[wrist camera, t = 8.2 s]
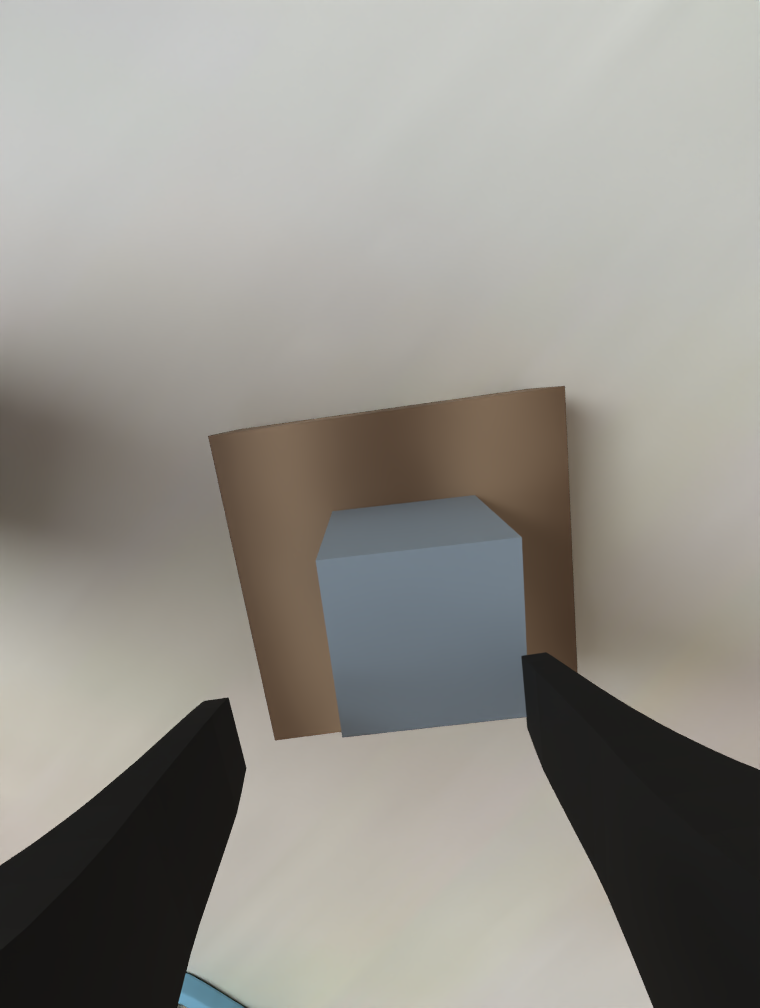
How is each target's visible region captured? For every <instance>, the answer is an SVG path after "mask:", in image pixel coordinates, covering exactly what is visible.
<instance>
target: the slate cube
mask: <svg viewBox="0 0 760 1008" xmlns="http://www.w3.org/2000/svg"><path fill="white" fill-rule="evenodd" d="M316 566H317V573H318V580H319V586H320V593H321V599H322V606H323V613H324V619H325V626H326V632H327V639H328V646H329V652H330V659H331V665H332V672H333V679H334V685H335V692H336V698H337V705H338V712H339V718H340V725H341V731H342V737H351V736H360V735H369V734H378V733H387V732H396V731H405V730H413V729H422V728H431V727H440V726H449V725H458V724H467V723H476V722H485V721H494V720H503V719H512V718H521V717H526V705H525V693H524V682H523V670H522V659H521V656H523V655H527V647H526V624H525V601H524V578H523V554H522V537H521V536H520V535H519V534H518V533H517V532H515V531H514V530H513V529H512V528H511V527H510V526H509V525H508V524H507V523H505V522H504V521H503V520H502V519H501V518H500V517H499V516H498V515H497V514H495V513H494V512H493V511H492V510H491V509H490V508H489V507H488V506H487V505H485V504H484V503H483V502H482V501H481V500H480V499H479V498H478V497H477V496H475V495H471V496H463V497H454V498H445V499H436V500H427V501H418V502H410V503H401V504H392V505H383V506H374V507H366V508H357V509H348V510H339V511H332V514H331V517H330V520H329V523H328V526H327V529H326V532H325V534H324V537H323V540H322V543H321V546H320V549H319V552H318V555H317V558H316Z"/></svg>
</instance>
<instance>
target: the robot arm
mask: <svg viewBox="0 0 760 1008" xmlns="http://www.w3.org/2000/svg"><path fill="white" fill-rule="evenodd" d="M521 659H522V670H523V682H524V693H525V705H526V717H527V728H528V731H529V734H530V736H531V739H532V742H533V744H534V747H535V750H536V752H537V755H538V758H539V760H540V763H541V765H542V768H543V770H544V772H545V774H546V776H547V778H548V780H549V782H550V784H551V786H552V788H553V790H554V792H555V794H556V796H557V798H558V800H559V802H560V804H561V806H562V808H563V809H564V811H565V813H566V815H567V817H568V819H569V821H570V823H571V825H572V827H573V829H574V831H575V833H576V834H577V836H578V838H579V840H580V842H581V844H582V846H583V848H584V850H585V852H586V854H587V856H588V858H589V859H590V861H591V863H592V865H593V867H594V869H595V871H596V873H597V875H598V877H599V879H600V882H601V884H602V886H603V888H604V890H605V892H606V894H607V896H608V899H609V901H610V903H611V906H612V908H613V910H614V913H615V915H616V918H617V920H618V922H619V925H620V927H621V930H622V932H623V934H624V937H625V939H626V941H627V944H628V946H629V949H630V951H631V953H632V956H633V958H634V961H635V963H636V966H637V968H638V971H639V973H640V975H641V978H642V980H643V983H644V985H645V988H646V990H647V993H648V995H649V998H650V1000H651V1003H652V1005H653V1008H760V770H758V769H756V768H754V767H751V766H749V765H746V764H744V763H741V762H739V761H736V760H734V759H732V758H730V757H727V756H725V755H723V754H720V753H718V752H716V751H714V750H712V749H710V748H707V747H705V746H703V745H701V744H699V743H697V742H695V741H693V740H691V739H689V738H687V737H685V736H683V735H681V734H679V733H677V732H675V731H673V730H671V729H669V728H667V727H665V726H663V725H661V724H660V723H658V722H656V721H654V720H652V719H651V718H649V717H647V716H645V715H644V714H642V713H640V712H638V711H637V710H635V709H633V708H631V707H630V706H628V705H626V704H625V703H623V702H621V701H620V700H618V699H617V698H615V697H613V696H612V695H610V694H609V693H607V692H605V691H604V690H602V689H601V688H599V687H598V686H596V685H595V684H593V683H592V682H590V681H589V680H587V679H586V678H584V677H583V676H581V675H580V674H578V673H577V672H575V671H574V670H572V669H571V668H569V667H568V666H566V665H565V664H563V663H562V662H561V661H559V660H558V659H556V658H555V657H553V656H552V655H550V654H548V653H547V652H544V653H537V654H530V655H523V656H521ZM245 772H246V765H245V761H244V757H243V753H242V749H241V745H240V741H239V737H238V733H237V729H236V725H235V721H234V717H233V714H232V710H231V706H230V702H229V698H222V699H215V700H208V701H204V702H202V703H201V704H200V705H198V706H197V707H196V708H195V709H194V710H192V711H191V712H190V713H189V714H188V715H187V716H186V717H185V718H183V719H182V720H181V721H180V722H179V723H178V724H177V725H176V726H175V727H174V728H172V729H171V730H170V731H169V732H168V733H167V734H166V735H165V736H164V737H163V738H161V739H160V740H159V741H158V742H157V743H156V744H155V745H154V746H153V747H151V748H150V749H149V750H148V751H147V752H146V753H145V754H144V755H143V756H142V757H140V758H139V759H138V760H137V761H136V762H135V763H134V764H133V765H131V766H130V767H129V768H128V769H127V770H125V771H124V772H123V773H122V774H121V775H120V776H118V777H117V778H116V779H115V780H114V781H112V782H111V783H110V784H109V785H108V786H107V787H105V788H104V789H103V790H102V791H101V792H99V793H98V794H97V795H96V796H95V797H94V798H92V799H91V800H90V801H89V802H87V803H86V804H85V805H84V806H82V807H81V808H80V809H79V810H77V811H76V812H75V813H73V814H72V815H71V816H69V817H68V818H67V819H66V820H64V821H63V822H61V823H60V824H59V825H57V826H56V827H55V828H53V829H52V830H51V831H49V832H48V833H47V834H45V835H44V836H43V837H41V838H40V839H38V840H37V841H36V842H34V843H33V844H31V845H30V846H29V847H27V848H26V849H24V850H23V851H21V852H20V853H18V854H17V855H15V856H14V857H12V858H11V859H9V860H8V861H6V862H5V863H3V864H2V865H0V1008H177V1006H178V1002H179V998H180V994H181V990H182V986H183V982H184V978H185V974H186V970H187V966H188V962H189V958H190V954H191V951H192V948H193V944H194V941H195V938H196V934H197V931H198V928H199V924H200V921H201V919H202V916H203V913H204V910H205V907H206V904H207V901H208V898H209V895H210V892H211V889H212V886H213V883H214V880H215V877H216V874H217V871H218V868H219V865H220V863H221V860H222V857H223V854H224V851H225V848H226V845H227V842H228V839H229V836H230V833H231V830H232V827H233V824H234V820H235V817H236V814H237V810H238V806H239V801H240V797H241V792H242V787H243V782H244V777H245Z"/></svg>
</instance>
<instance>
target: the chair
mask: <svg viewBox="0 0 760 1008" xmlns="http://www.w3.org/2000/svg"><path fill="white" fill-rule="evenodd" d="M178 1004H182V1005H184V1006H186V1007H187V1008H245V1007H243V1006H242V1005H240V1004H238V1003H237V1002H235V1001H234V1000H232V999H230V998H229V997H227V996H226V995H224V994H222V993H221V992H219V991H218V990H216V989H214V988H213V987H211V986H209V985H208V984H206V983H204V982H203V981H201V980H199V979H197V978H196V977H194V976H192V975H190V974H187V973H186V974H185V978H184V982H183V986H182V990H181V994H180V998H179V1002H178Z"/></svg>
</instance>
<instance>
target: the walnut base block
mask: <svg viewBox="0 0 760 1008" xmlns="http://www.w3.org/2000/svg"><path fill="white" fill-rule="evenodd" d="M208 438H209V442H210V447H211V451H212V456H213V460H214V465H215V469H216V474H217V478H218V483H219V488H220V492H221V497H222V501H223V506H224V510H225V515H226V519H227V524H228V528H229V533H230V538H231V542H232V547H233V551H234V556H235V560H236V565H237V569H238V574H239V579H240V583H241V588H242V592H243V597H244V601H245V606H246V610H247V615H248V619H249V624H250V629H251V633H252V638H253V642H254V647H255V651H256V656H257V660H258V665H259V669H260V674H261V679H262V683H263V688H264V692H265V697H266V701H267V706H268V710H269V715H270V720H271V724H272V729H273V733H274V738H275V740H282V739H289V738H297V737H305V736H312V735H320V734H327V733H335V732H342V731H341V725H340V718H339V712H338V705H337V698H336V692H335V685H334V679H333V672H332V665H331V659H330V652H329V646H328V639H327V632H326V626H325V619H324V613H323V606H322V599H321V593H320V586H319V580H318V573H317V566H316V558H317V555H318V552H319V549H320V546H321V543H322V540H323V537H324V534H325V532H326V529H327V526H328V523H329V520H330V517H331V514H332V511H339V510H348V509H357V508H366V507H374V506H383V505H392V504H401V503H410V502H418V501H427V500H436V499H445V498H454V497H463V496H471V495H475V496H477V497H478V498H479V499H480V500H481V501H482V502H483V503H484V504H485V505H487V506H488V507H489V508H490V509H491V510H492V511H493V512H494V513H495V514H497V515H498V516H499V517H500V518H501V519H502V520H503V521H504V522H505V523H507V524H508V525H509V526H510V527H511V528H512V529H513V530H514V531H515V532H517V533H518V534H519V535H520V536H521V537H522V554H523V578H524V601H525V624H526V647H527V655H530V654H537V653H544V652H547V653H548V654H550V655H552V656H553V657H555V658H556V659H558V660H559V661H561V662H562V663H563V664H565V665H566V666H568V667H569V668H571V669H572V670H574V671H575V672H577V652H576V630H575V607H574V584H573V562H572V539H571V516H570V494H569V471H568V448H567V426H566V403H565V386H559V387H546V388H533V389H524V390H517V391H510V392H503V393H496V394H488V395H481V396H474V397H467V398H460V399H453V400H446V401H438V402H431V403H424V404H417V405H410V406H403V407H396V408H388V409H381V410H374V411H367V412H360V413H353V414H346V415H338V416H331V417H324V418H317V419H310V420H303V421H296V422H289V423H281V424H274V425H267V426H260V427H253V428H246V429H239V430H234V431H229V432H225V433H220V434H215V435H211V436H208Z"/></svg>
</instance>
